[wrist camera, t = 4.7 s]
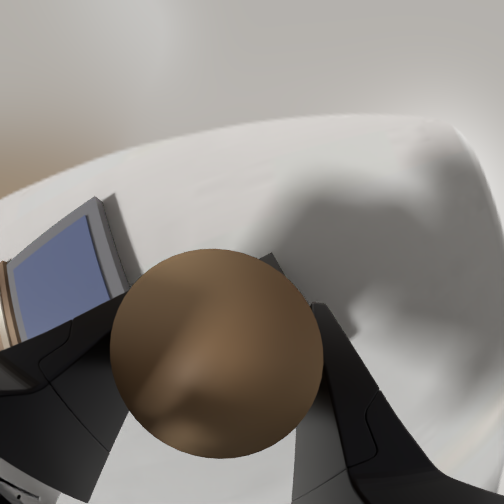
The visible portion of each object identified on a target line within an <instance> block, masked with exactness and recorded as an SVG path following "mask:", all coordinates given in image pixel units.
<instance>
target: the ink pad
mask: <svg viewBox="0 0 504 504" xmlns="http://www.w3.org/2000/svg"><path fill="white" fill-rule="evenodd" d="M7 273H8V280H9V287H10V293H11V298H12V303H13V308H14V313H15V318H16V322H17V326H18V330H19V334H20V338H21V342H23V341H26V340H28V339H30V338H33V337H35V336H37V335H40V334H42V333H44V332H47V331H49V330H51V329H53V328H55V327H57V326H59V325H61V324H63V323H65V322H67V321H69V320H71V319H72V320H73V318H75V317H77V316H78V315H80V314H82V313H84V312H86V311H88V310H90V309H92V308H94V307H96V306H98V305H100V304H102V303H104V302H106V301H108V300H110V299H112V298H114V297H116V296H118V295H120V294H122V293H124V292H126V291H128V290H130V287H129V284H128V282H127V279H126V276H125V273H124V271H123V268H122V265H121V262H120V259H119V256H118V253H117V250H116V247H115V244H114V241H113V238H112V235H111V231H110V228H109V225H108V221H107V218H106V214H105V211H104V207H103V203H102V202H101V201H100V200H99V199H98V198H97V197H95V196H94V197H93V198H91V199H90V200H88V201H87V202H86V203H84V204H83V205H81V206H80V207H78V208H77V209H75V210H74V211H73V212H71V213H70V214H68V215H67V216H66V217H64V218H63V219H62V220H60V221H59V222H58V223H56V224H55V225H54V226H52V227H51V228H50V229H48V230H47V231H46V232H45V233H43V234H42V235H41V236H40V237H38V238H37V239H36V240H35V241H33V242H32V243H31V244H30V245H28V246H27V247H26V248H25V249H24V250H23V251H21V252H20V253H19V254H18V255H17V256H16V257H14V258H13V259H12V260H11V261H10V262H9V263H8V264H7Z"/></svg>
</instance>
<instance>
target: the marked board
mask: <svg viewBox="0 0 504 504" xmlns="http://www.w3.org/2000/svg"><path fill="white" fill-rule="evenodd" d="M18 343H21V338H20V334H19V330H18V326H17V322H16V318H15V313H14V308H13V303H12V298H11V293H10V287H9V280H8V273H7V262H5V261H2V262H0V351H1V350H4V349H6V348H9V347H11V346H14V345H16V344H18Z"/></svg>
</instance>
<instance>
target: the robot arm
mask: <svg viewBox="0 0 504 504" xmlns="http://www.w3.org/2000/svg"><path fill="white" fill-rule="evenodd" d="M128 291H129V290H128ZM128 291H126V292H124V293H122V294H120V295H118V296H116V297H114V298H112V299H110V300H108V301H106V302H104V303H102V304H100V305H98V306H96V307H94V308H92V309H90V310H88V311H86V312H84V313H82V314H80V315H78V316H77V317H75V318H73V320H72V319H71V320H69V321H67V322H65V323H63V324H61V325H59V326H57V327H55V328H53V329H51V330H49V331H47V332H44V333H42V334H40V335H37V336H35V337H33V338H30V339H28V340H26V341H23V342H21V343H18V344H16V345H14V346H11V347H9V348H6V349H4V350H1V351H0V504H56V502H57V500H58V498H59V496H60V494H61V492H62V493H64V494H66V495H68V496H71V497H73V498H75V499H78V500H80V501H83V502H85V503H88V502H89V500H90V497H91V495H92V492H93V490H94V488H95V485H96V483H97V481H98V478H99V476H100V474H101V471H102V469H103V467H104V465H105V462H106V460H107V458H108V456H109V452H110V451H111V449H112V446H113V444H114V442H115V440H116V438H117V435H118V433H119V431H120V429H121V427H122V425H123V423H124V420H125V418H126V416H127V414H128V412H129V409H128V408H127V406H126V405H125V403H124V401H123V399H122V398H121V396H120V393H119V391H118V388H117V386H116V383H115V380H114V376H113V373H112V367H111V361H110V339H111V331H112V327H113V323H114V319H115V316H116V314H117V311H118V308H119V306H120V304H121V303H122V301H123V299H124V297H125V295H126V294H127V293H128ZM310 308H311V310H312V312H313V314H314V317H315V319H316V321H317V324H318V328H319V331H320V334H321V340H322V346H323V370H322V378H321V382H320V385H319V389H318V392H317V395H316V397H315V399H314V402H313V404H312V406H311V407H310V409H309V411H308V412H307V414H306V415H305V417H304V418H303V419H302V421H301V422H300V423H299V424H298V425H297V427H296V444H295V462H294V477H293V490H292V502H291V504H504V496H503V495H499V494H496V493H493V492H490V491H487V490H483V489H481V488H478V487H475V486H472V485H469V484H466V483H464V482H461V481H459V480H456V479H453V478H451V477H449V476H447V475H445V474H444V473H442V472H441V471H440V470H438V469H437V468H436V467H435V466H434V464H433V463H432V462H431V461H430V460H429V458H428V457H427V456H426V454H425V453H424V452H423V450H422V449H421V448H420V446H419V445H418V444H417V442H416V441H415V440H414V438H413V437H412V436H411V434H410V433H409V432H408V431H407V429H406V428H405V426H404V425H403V424H402V422H401V421H400V419H399V418H398V417H397V415H396V414H395V412H394V411H393V409H392V408H391V406H390V404H389V403H388V401H387V400H386V398H385V396H384V395H383V393H382V392H381V391H380V390H379V387H378V385H377V384H376V382H375V380H374V379H373V377H372V376H371V374H370V372H369V371H368V369H367V367H366V366H365V364H364V363H363V361H362V360H361V358H360V356H359V355H358V353H357V352H356V350H355V348H354V347H353V345H352V344H351V342H350V341H349V339H348V337H347V336H346V334H345V333H344V331H343V330H342V328H341V327H340V325H339V324H338V322H337V320H336V319H335V317H334V316H333V314H332V313H331V311H330V310H329V308H328V307H327V305H325V304H322V303H316V302H313V303H312V304H311V306H310Z"/></svg>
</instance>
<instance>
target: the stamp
mask: <svg viewBox="0 0 504 504" xmlns="http://www.w3.org/2000/svg"><path fill="white" fill-rule="evenodd" d="M110 361H111V367H112V373H113V376H114V380H115V383H116V386H117V388H118V391H119V393H120V396H121V398H122V399H123V401H124V403H125V405H126V406H127V408H128V409H129V411H130V412H131V413H132V415H133V416H134V417H135V419H136V420H137V421H138V422H139V423H140V424H141V425H142V426H143V427H144V428H145V429H146V430H147V431H148V432H150V433H151V434H152V435H153V436H154V437H156V438H157V439H159V440H160V441H162V442H164V443H165V444H167V445H169V446H171V447H173V448H175V449H177V450H179V451H182V452H185V453H188V454H191V455H195V456H200V457H205V458H217V459H224V458H236V457H242V456H247V455H250V454H253V453H256V452H259V451H262V450H264V449H266V448H268V447H270V446H272V445H274V444H276V443H277V442H278V441H280V440H281V439H283V438H284V437H286V436H287V435H288V434H289V433H290V432H291V431H292V430H293V429H295V428H296V427H297V425H298V424H299V423H300V422H301V421H302V419H303V418H304V417H305V415H306V414H307V412H308V411H309V409H310V407H311V406H312V404H313V402H314V399H315V397H316V395H317V392H318V389H319V385H320V382H321V378H322V370H323V346H322V340H321V334H320V331H319V328H318V324H317V321H316V319H315V317H314V314H313V312H312V310H311V308H310V306H309V305H308V303H307V302H306V300H305V298H304V297H303V295H302V294H301V293H300V292H299V290H298V289H297V288H296V287H295V286H294V285H293V283H292V282H291V281H289V280H288V279H287V278H286V277H285V275H284V273H283V271H282V270H281V268H280V266H279V264H278V263H277V261H276V259H275V257H274V256H273V254H272V253H270V254H268V255H266V256H264V257H262V258H260V259H257V258H255V257H252V256H249V255H246V254H243V253H240V252H235V251H230V250H222V249H200V250H194V251H188V252H184V253H181V254H178V255H175V256H172V257H170V258H168V259H166V260H164V261H162V262H160V263H158V264H157V265H155V266H154V267H152V268H151V269H149V270H148V271H147V272H146V273H145V274H143V275H142V276H141V277H140V278H139V279H138V280H137V281H136V282H135V284H134V285H133V286H132V287H131V288H130V290H129V291H128V293H127V294H126V295H125V297H124V299H123V301H122V303H121V304H120V306H119V308H118V311H117V314H116V316H115V319H114V323H113V327H112V331H111V339H110Z"/></svg>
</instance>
